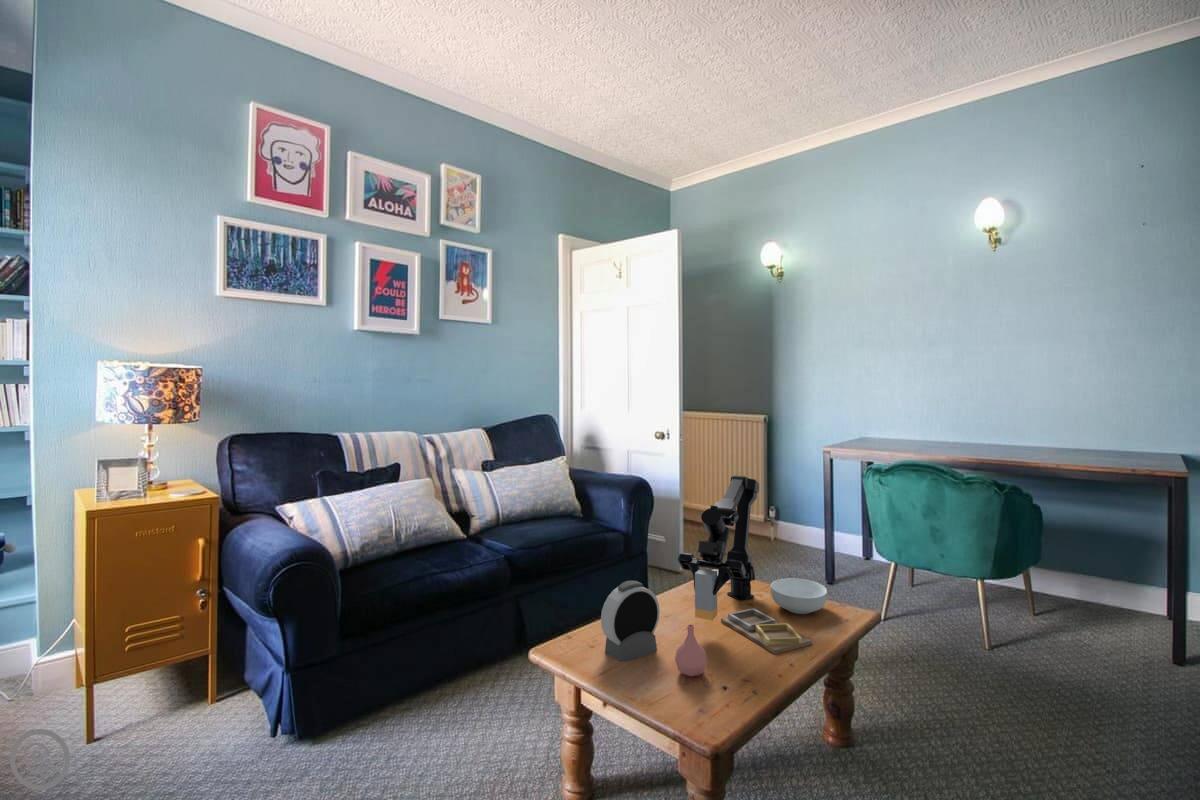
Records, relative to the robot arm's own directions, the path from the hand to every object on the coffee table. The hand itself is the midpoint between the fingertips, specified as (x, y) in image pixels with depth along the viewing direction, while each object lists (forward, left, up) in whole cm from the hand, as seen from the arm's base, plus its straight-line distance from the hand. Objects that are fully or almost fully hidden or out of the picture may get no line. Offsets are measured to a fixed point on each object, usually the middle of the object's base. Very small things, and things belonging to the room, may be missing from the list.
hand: (704, 592), depth 162 cm
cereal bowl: (-4, +38, -13) cm, 41 cm away
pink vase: (+15, -15, -13) cm, 25 cm away
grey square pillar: (-1, +1, -7) cm, 7 cm away
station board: (+5, +17, -13) cm, 22 cm away
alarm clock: (-3, -22, -13) cm, 26 cm away
